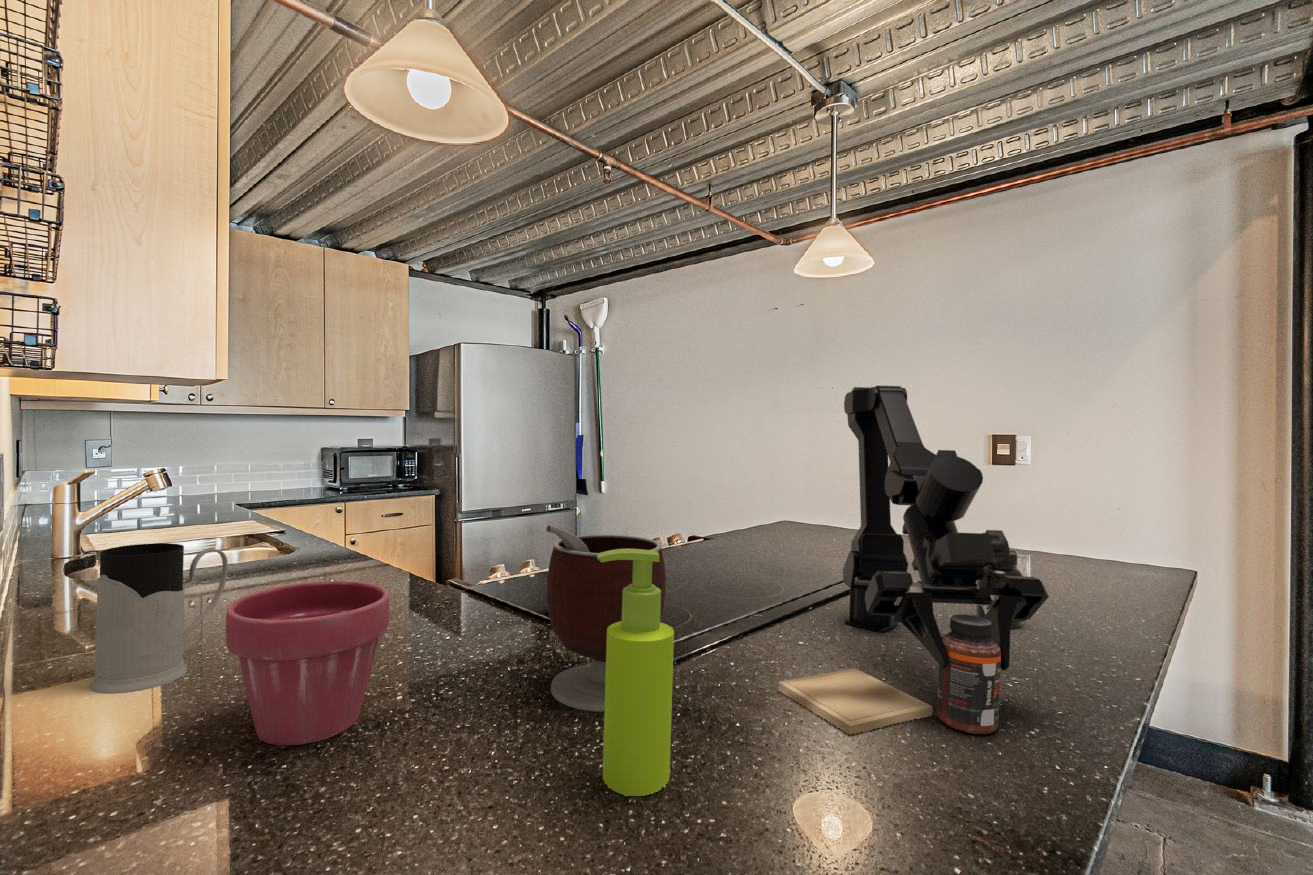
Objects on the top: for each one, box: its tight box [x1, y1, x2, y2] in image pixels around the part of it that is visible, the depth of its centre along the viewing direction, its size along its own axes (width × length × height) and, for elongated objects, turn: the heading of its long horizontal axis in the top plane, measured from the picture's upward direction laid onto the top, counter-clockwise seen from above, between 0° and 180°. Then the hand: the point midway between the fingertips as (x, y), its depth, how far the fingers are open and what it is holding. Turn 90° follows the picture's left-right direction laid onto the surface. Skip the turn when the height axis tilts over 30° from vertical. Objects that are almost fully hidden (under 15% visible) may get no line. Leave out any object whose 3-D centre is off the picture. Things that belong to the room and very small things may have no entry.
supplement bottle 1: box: [936, 614, 1002, 735], centre depth 67 cm, size 6×6×11 cm
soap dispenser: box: [597, 549, 675, 797], centre depth 54 cm, size 6×7×20 cm
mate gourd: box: [546, 524, 667, 712], centre depth 73 cm, size 16×14×20 cm
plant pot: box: [225, 580, 390, 746], centre depth 62 cm, size 14×14×13 cm
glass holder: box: [88, 542, 229, 694], centre depth 75 cm, size 9×14×15 cm, turn 160°
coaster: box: [777, 667, 934, 736], centre depth 71 cm, size 12×12×1 cm
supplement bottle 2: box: [975, 551, 1024, 630], centre depth 105 cm, size 7×7×12 cm
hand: (975, 667), depth 66 cm, fingers closed on supplement bottle 1, 6 cm apart
